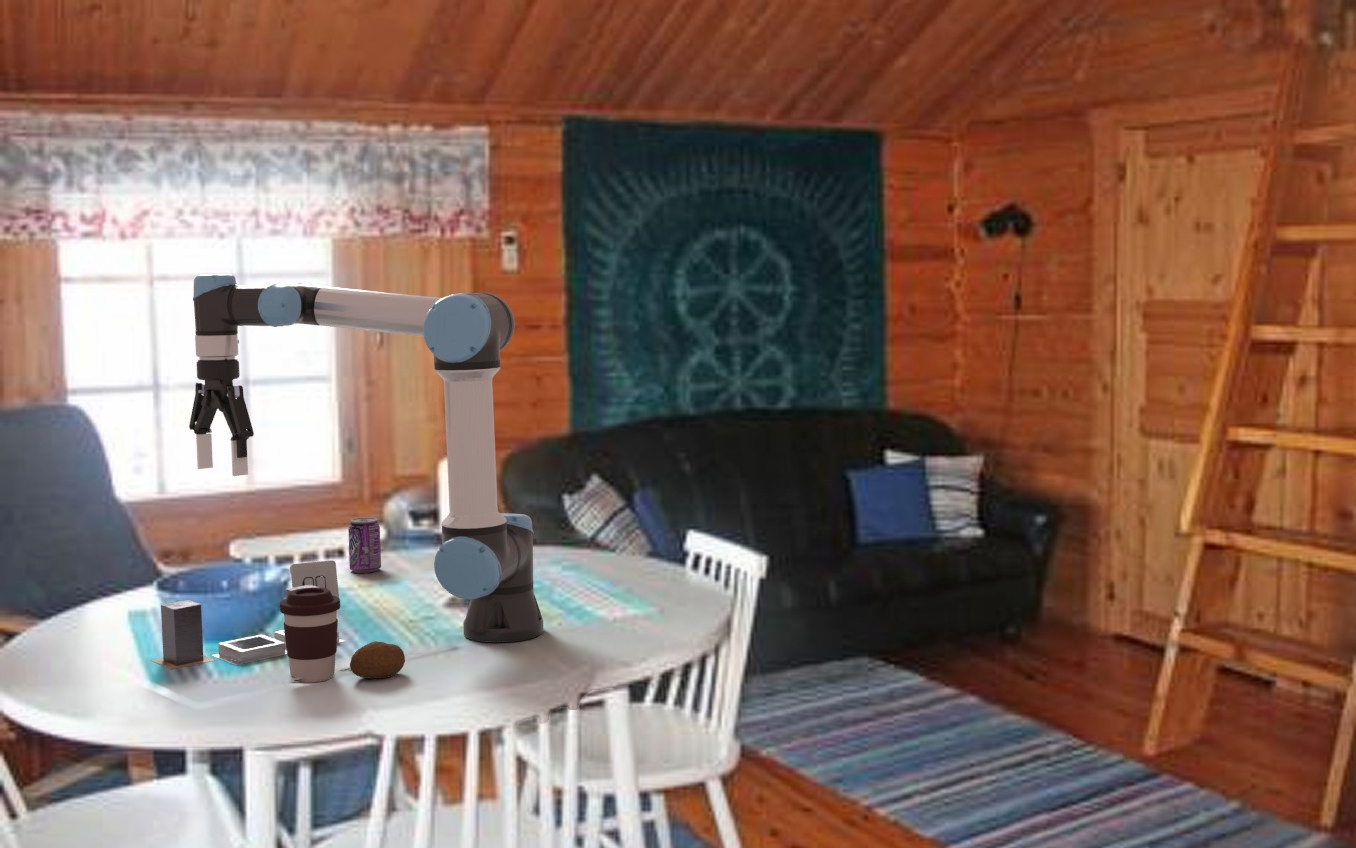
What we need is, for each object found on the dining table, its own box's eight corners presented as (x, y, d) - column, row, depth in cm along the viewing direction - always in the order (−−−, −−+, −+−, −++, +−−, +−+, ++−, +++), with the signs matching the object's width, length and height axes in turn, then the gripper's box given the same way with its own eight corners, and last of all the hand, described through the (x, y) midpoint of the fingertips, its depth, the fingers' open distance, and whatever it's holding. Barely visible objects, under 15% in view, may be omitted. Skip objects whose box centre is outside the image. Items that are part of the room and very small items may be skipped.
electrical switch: (294, 610, 291) (291, 565, 291) (289, 607, 296) (287, 562, 296) (340, 605, 295) (337, 561, 295) (334, 602, 300) (332, 558, 300)
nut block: (203, 660, 250) (201, 604, 249) (176, 666, 247) (173, 609, 246) (190, 655, 254) (187, 600, 253) (163, 660, 250) (160, 604, 249)
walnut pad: (215, 665, 250) (215, 660, 250) (172, 675, 245) (171, 669, 245) (194, 657, 256) (194, 651, 256) (151, 666, 250) (151, 660, 250)
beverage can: (348, 569, 331) (346, 518, 329) (379, 567, 333) (378, 516, 332) (351, 575, 324) (349, 523, 323) (382, 573, 326) (381, 521, 325)
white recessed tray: (346, 646, 263) (345, 630, 262) (236, 670, 247) (235, 653, 247) (320, 637, 269) (320, 622, 269) (211, 660, 254) (210, 644, 253)
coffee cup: (319, 666, 250) (316, 582, 248) (354, 676, 243) (351, 590, 242) (270, 679, 242) (267, 592, 240) (306, 689, 236) (302, 601, 234)
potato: (414, 675, 244) (413, 640, 243) (364, 687, 237) (363, 651, 236) (393, 668, 248) (392, 633, 248) (343, 679, 242) (342, 643, 241)
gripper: (270, 359, 258) (274, 475, 260) (204, 354, 275) (209, 463, 277) (231, 361, 252) (236, 480, 255) (167, 356, 270) (172, 467, 272)
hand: (222, 471), depth 266 cm, fingers open, 13 cm apart
